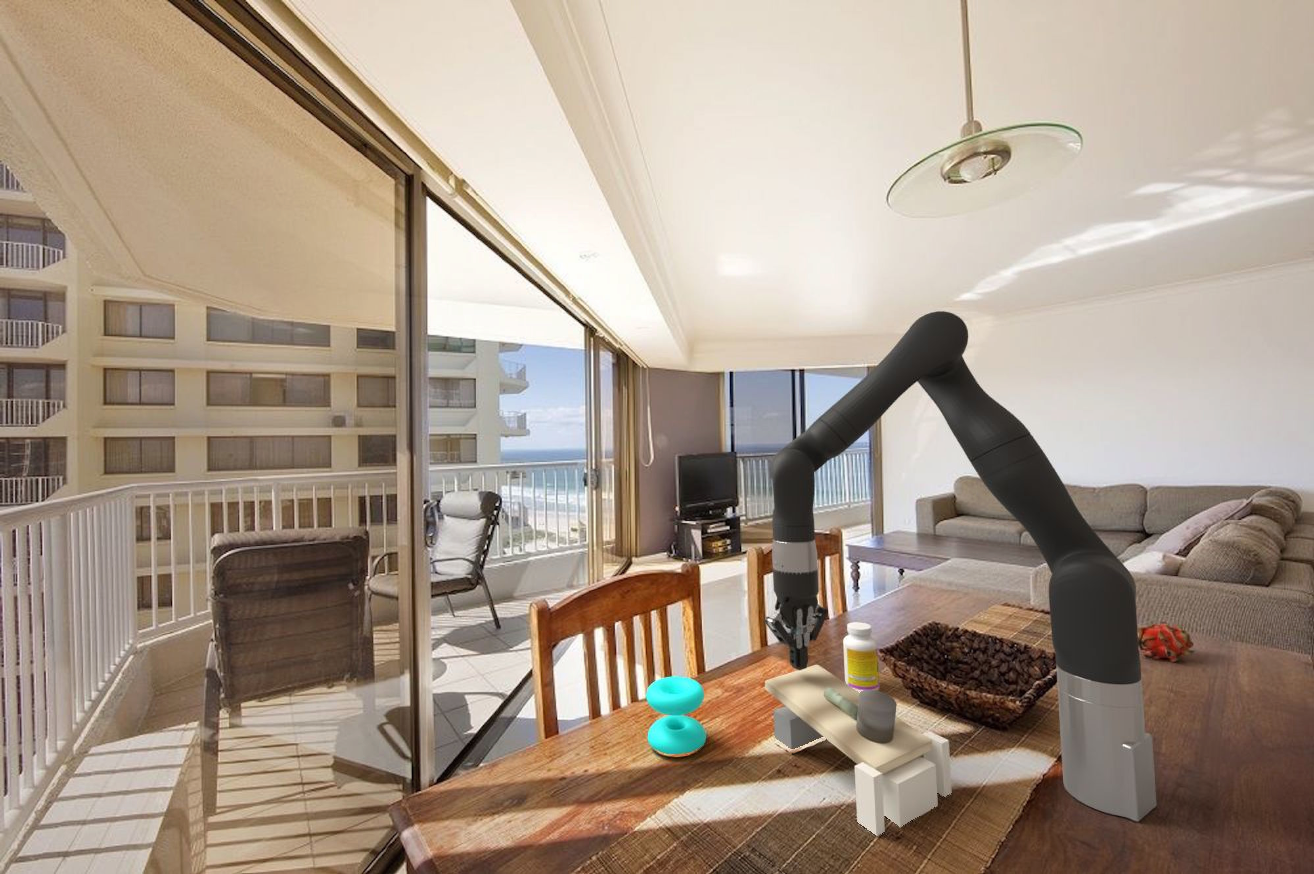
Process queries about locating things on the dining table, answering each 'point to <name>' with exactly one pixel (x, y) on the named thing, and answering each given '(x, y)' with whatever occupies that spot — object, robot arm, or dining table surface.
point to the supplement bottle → (860, 657)
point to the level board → (850, 718)
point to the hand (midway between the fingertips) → (799, 667)
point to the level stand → (883, 777)
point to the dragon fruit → (1164, 641)
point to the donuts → (676, 715)
